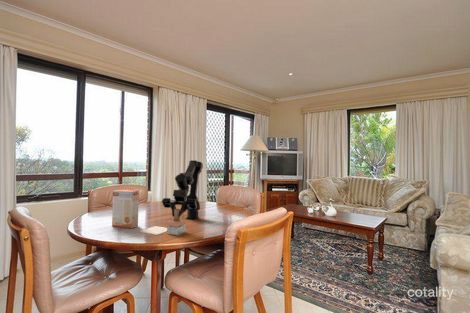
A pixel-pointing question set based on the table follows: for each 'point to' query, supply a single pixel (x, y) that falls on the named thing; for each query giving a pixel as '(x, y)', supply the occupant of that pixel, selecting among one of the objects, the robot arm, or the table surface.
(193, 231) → the table surface
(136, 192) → the cracker box
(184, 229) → the grey rock
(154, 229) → the cream mat
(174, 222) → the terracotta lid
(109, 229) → the table surface
